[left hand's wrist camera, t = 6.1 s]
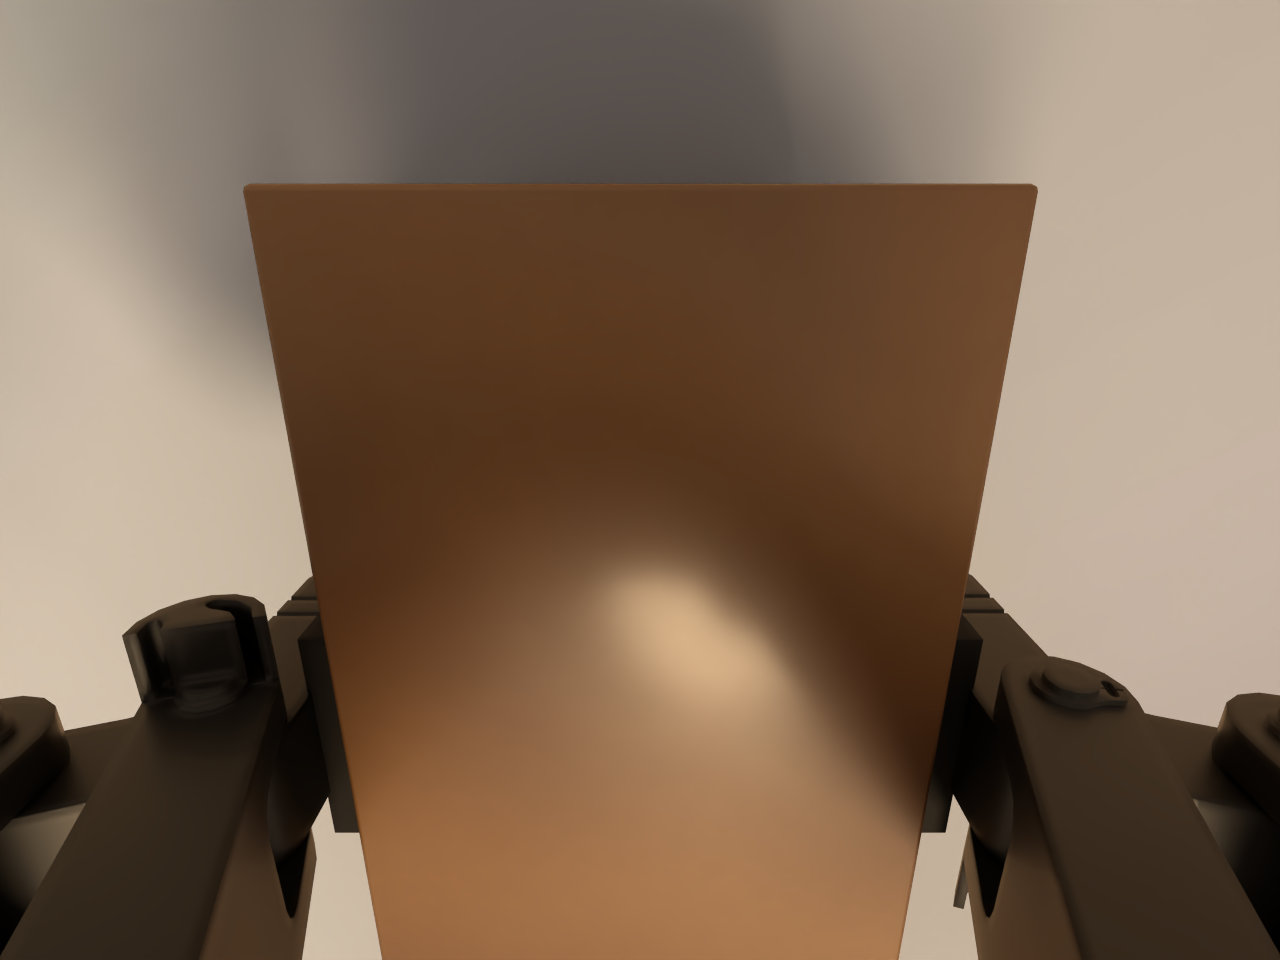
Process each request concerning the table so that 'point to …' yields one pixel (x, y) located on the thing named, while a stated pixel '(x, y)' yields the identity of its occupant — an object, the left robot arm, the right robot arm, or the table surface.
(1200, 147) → the table surface
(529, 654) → the beam
